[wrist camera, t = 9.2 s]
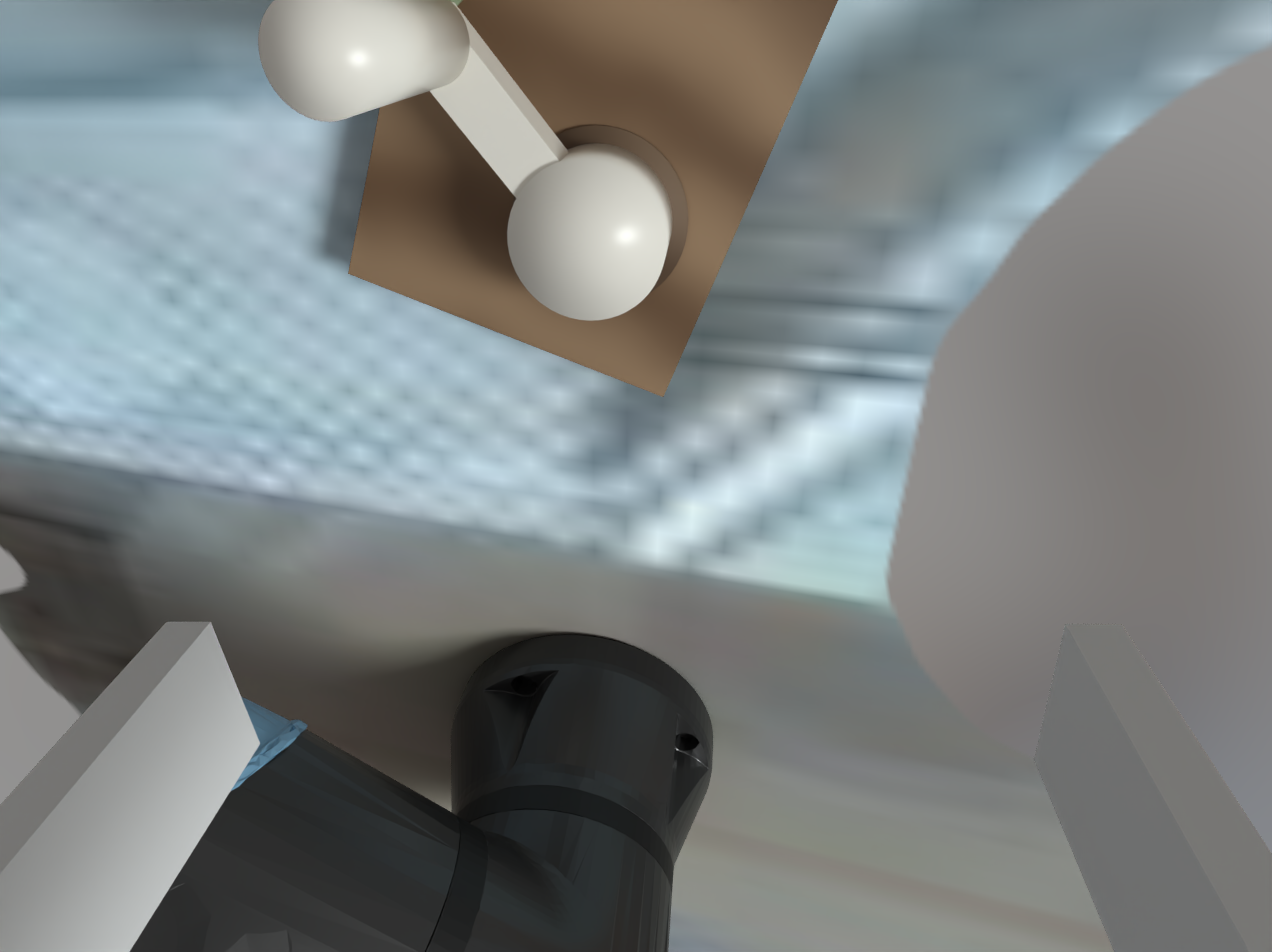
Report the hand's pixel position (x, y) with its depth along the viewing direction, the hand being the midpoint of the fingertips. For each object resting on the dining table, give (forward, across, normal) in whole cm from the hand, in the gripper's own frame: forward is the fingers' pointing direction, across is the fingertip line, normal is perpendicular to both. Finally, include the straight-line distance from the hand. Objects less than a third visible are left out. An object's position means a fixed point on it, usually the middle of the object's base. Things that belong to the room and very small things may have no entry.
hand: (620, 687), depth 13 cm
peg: (+22, +6, -6) cm, 24 cm away
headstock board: (+25, +3, -7) cm, 26 cm away
